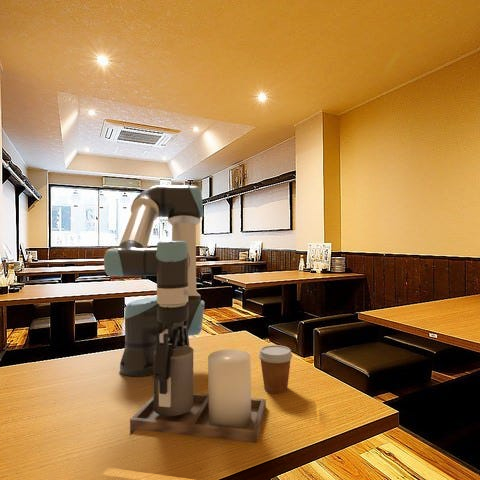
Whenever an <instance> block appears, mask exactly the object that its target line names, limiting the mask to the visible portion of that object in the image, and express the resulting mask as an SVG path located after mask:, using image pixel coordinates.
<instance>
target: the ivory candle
mask: <svg viewBox="0 0 480 480" xmlns="http://www.w3.org/2000/svg"><path fill="white" fill-rule="evenodd" d="M251 356H252V355H251V354H250V353H249V352H248V351H245V350H241V349H232V348H231V349H230V348H229V349H222V350H221V349H220V350H215V351H213V352H210V354H209V355H208V357H207V365H208V366H207V367H208V368H207V370H208V371H207V374H208V375H207V376H208V378H207V379H208V380H207V382H208V384H207V385H208V389H207V391H208V392H207V393H208V394H209V424H210V425H211V426H221V427H230V428H240V429H245V428H247V427H248V426H249V425H250V423H251V398H252V368H251V367H252V361H251V360H252V357H251Z"/></svg>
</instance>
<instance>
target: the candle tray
mask: <svg viewBox="0 0 480 480" xmlns="http://www.w3.org/2000/svg"><path fill="white" fill-rule="evenodd" d="M153 397H154V395H152V396H151V397H150V399H149V400H148V401H146V403H144V405H142V407H141V408H140V409H139V410H138V411H136V412H135V414H134V415H132V417H131V418H130V419H129V433H130V434H133V433H134V432H135V431H137V430H138V431H140V430H141V431H148V432H158V433H159V432H160V433H165V434H166V433H167V434H176V435H185V436H192V437H202V438H210V439H211V438H212V439H218V440H219V439H221V440H228V441H237V442H249V443H258V441H259V435H260V431H261V427H262V425H263V424H262V423H263V421H264V415H265V412H266V407H267V405H266V404H267V403H266V402H267V399H266V398H258V397H257V398H255V397H251V423H250V425H249V426H248V427H247V428H245V429H240V428H230V427H221V426H211V425H210V424H209V394H207V393H197V392H193V407H192V409H191V410H189V411H188V412H186V413H184V414H181V415H178V416H162V415H159V414H157V413H156V412H155V411H154V410H153V406H154V398H153Z"/></svg>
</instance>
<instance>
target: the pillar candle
mask: <svg viewBox="0 0 480 480" xmlns="http://www.w3.org/2000/svg"><path fill="white" fill-rule="evenodd" d="M189 346H190V345H189ZM189 346H188V345H184V346H176V348H175V349H174V351H173V356H172V357H171V359H170V361H171V369H170V374H169V377H171V407H162V406H159V380H158V379H154V378H153V396H154V397H153V396H152V397H153V398H154V406H153V410H154V411H155V412H156V413H157V414H159V415H162V416H178V415H181V414H184V413H186V412H188V411H189V410H191V409H192V407H193V393H194V352H195V351H194V350H195V349H193V347H191V346H190V347H189ZM155 356H156V350H155V351H154V366H155Z"/></svg>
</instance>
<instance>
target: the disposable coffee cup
mask: <svg viewBox="0 0 480 480" xmlns="http://www.w3.org/2000/svg"><path fill="white" fill-rule="evenodd" d="M258 357H259V359H260V364H261V366H260V367H261V372H262V373H261V374H262V379H263V388H264V390H265V392H267V393H269V394H272V395H281V394H285V393H286V392H287V391H288V387H289V386H288V385H289V379H290V378H289V377H290V368H291V367H290V366H291V360H292V357H293V352H292V350H291V348H289V347H288V346H284V345H279V344H273V345H265V346H262V347H261V348H260V350H259V353H258Z"/></svg>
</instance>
